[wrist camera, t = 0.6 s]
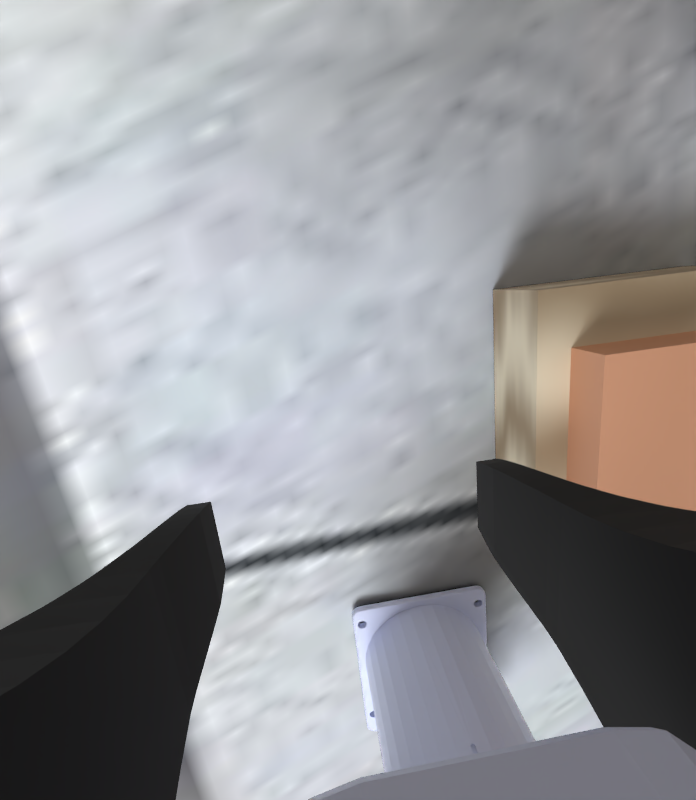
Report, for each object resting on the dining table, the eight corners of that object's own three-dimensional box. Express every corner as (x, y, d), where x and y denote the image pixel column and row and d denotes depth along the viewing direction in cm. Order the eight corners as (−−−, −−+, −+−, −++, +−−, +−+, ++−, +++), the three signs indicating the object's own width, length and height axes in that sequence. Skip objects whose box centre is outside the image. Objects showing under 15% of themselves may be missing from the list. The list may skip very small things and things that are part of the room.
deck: (655, 508, 25) (719, 548, 21) (496, 535, 24) (533, 582, 20) (681, 266, 21) (766, 261, 17) (493, 289, 20) (538, 290, 16)
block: (680, 513, 20) (720, 537, 18) (564, 533, 20) (592, 560, 18) (703, 329, 18) (752, 334, 16) (571, 347, 17) (605, 355, 15)
